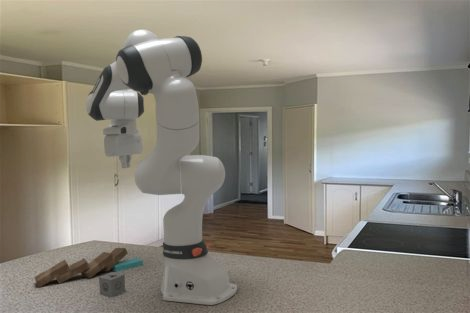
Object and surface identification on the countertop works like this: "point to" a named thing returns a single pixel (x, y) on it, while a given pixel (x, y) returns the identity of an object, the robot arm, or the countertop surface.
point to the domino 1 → (51, 273)
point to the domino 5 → (127, 264)
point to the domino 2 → (73, 270)
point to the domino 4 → (115, 258)
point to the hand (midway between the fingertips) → (125, 167)
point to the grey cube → (112, 284)
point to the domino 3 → (98, 264)
